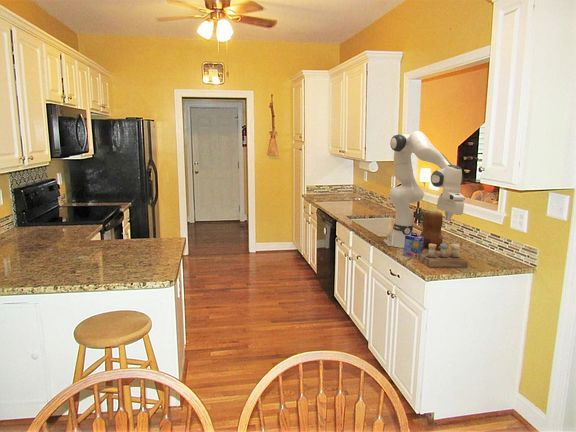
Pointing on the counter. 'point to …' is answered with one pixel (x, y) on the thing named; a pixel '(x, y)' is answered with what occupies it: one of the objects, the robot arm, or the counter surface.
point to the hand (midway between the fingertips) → (447, 220)
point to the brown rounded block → (432, 228)
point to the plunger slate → (443, 250)
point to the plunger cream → (454, 250)
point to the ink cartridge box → (413, 245)
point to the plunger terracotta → (432, 250)
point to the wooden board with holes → (442, 261)
